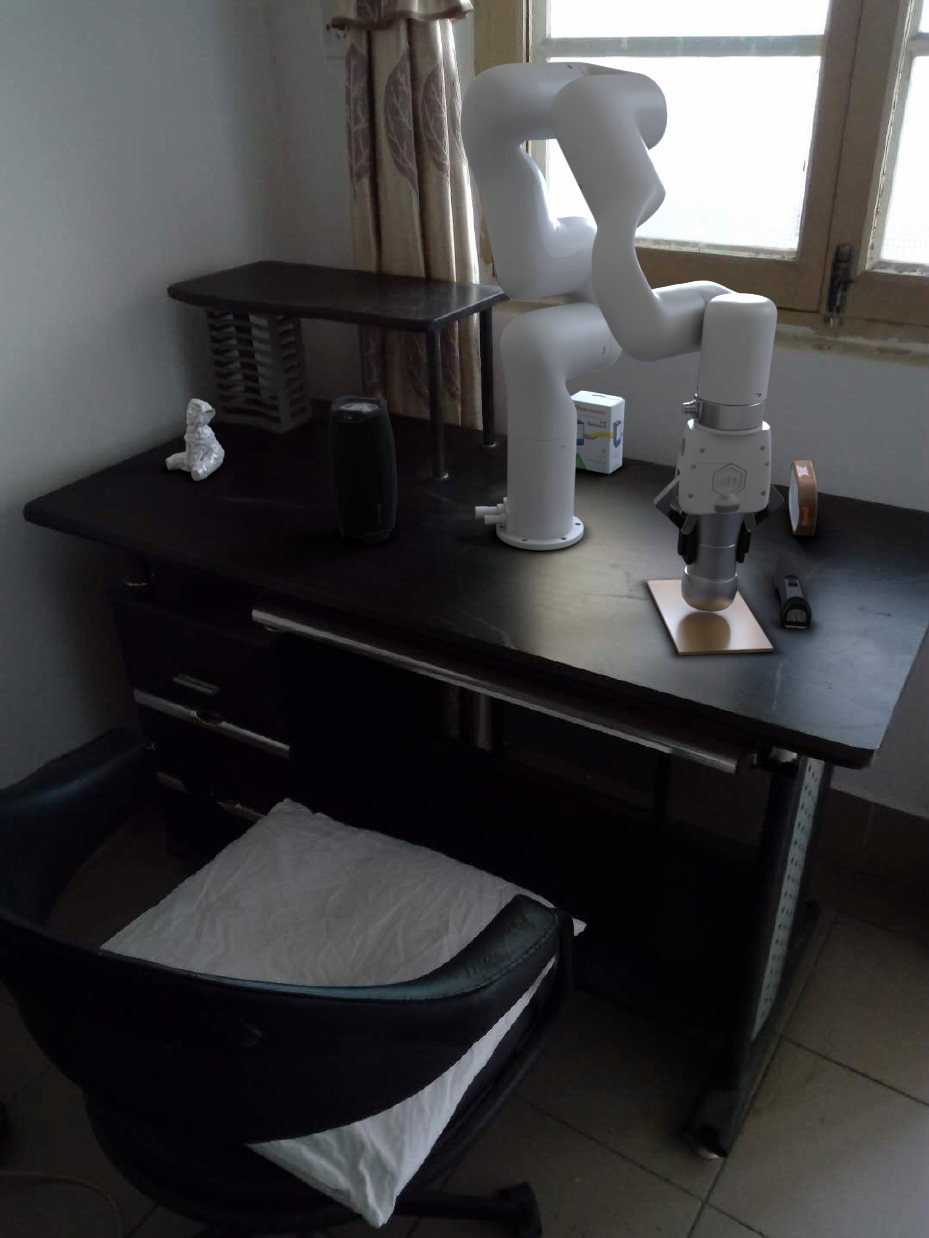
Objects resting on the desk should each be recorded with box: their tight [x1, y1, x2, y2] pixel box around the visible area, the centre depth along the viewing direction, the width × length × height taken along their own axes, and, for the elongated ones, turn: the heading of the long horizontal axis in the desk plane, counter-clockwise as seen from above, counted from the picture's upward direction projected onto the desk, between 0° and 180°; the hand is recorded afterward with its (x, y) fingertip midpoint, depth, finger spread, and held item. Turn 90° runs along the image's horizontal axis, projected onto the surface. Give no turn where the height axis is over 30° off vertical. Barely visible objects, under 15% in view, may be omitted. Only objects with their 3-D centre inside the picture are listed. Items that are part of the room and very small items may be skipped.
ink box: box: [570, 390, 626, 475], centre depth 166 cm, size 9×5×12 cm, turn 55°
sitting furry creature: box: [165, 398, 225, 482], centre depth 168 cm, size 10×9×12 cm
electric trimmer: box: [773, 551, 813, 629], centre depth 127 cm, size 4×16×3 cm, turn 170°
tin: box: [788, 459, 818, 537], centre depth 146 cm, size 15×3×8 cm, turn 168°
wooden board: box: [646, 578, 774, 656], centre depth 124 cm, size 11×18×1 cm, turn 3°
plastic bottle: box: [681, 493, 745, 612], centre depth 119 cm, size 6×7×20 cm
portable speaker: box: [327, 394, 398, 545], centre depth 142 cm, size 9×9×20 cm
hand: (711, 557), depth 121 cm, fingers closed on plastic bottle, 5 cm apart
